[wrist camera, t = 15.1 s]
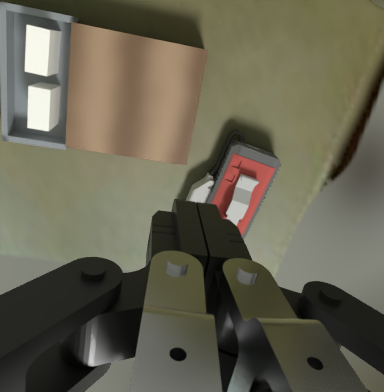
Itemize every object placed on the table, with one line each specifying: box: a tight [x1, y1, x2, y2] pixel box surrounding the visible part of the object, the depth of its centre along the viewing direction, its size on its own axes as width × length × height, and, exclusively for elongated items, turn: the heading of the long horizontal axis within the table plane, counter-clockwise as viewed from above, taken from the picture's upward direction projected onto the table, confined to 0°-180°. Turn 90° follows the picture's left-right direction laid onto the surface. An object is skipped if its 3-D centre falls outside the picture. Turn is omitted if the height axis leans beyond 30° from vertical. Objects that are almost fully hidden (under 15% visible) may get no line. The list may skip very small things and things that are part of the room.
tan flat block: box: [65, 22, 208, 165], centre depth 37 cm, size 13×12×3 cm
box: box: [0, 1, 79, 150], centre depth 36 cm, size 6×13×2 cm, turn 169°
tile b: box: [27, 82, 61, 131], centre depth 36 cm, size 4×4×2 cm
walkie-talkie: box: [186, 130, 281, 239], centre depth 43 cm, size 9×4×20 cm
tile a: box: [25, 25, 61, 76], centre depth 34 cm, size 4×4×2 cm
